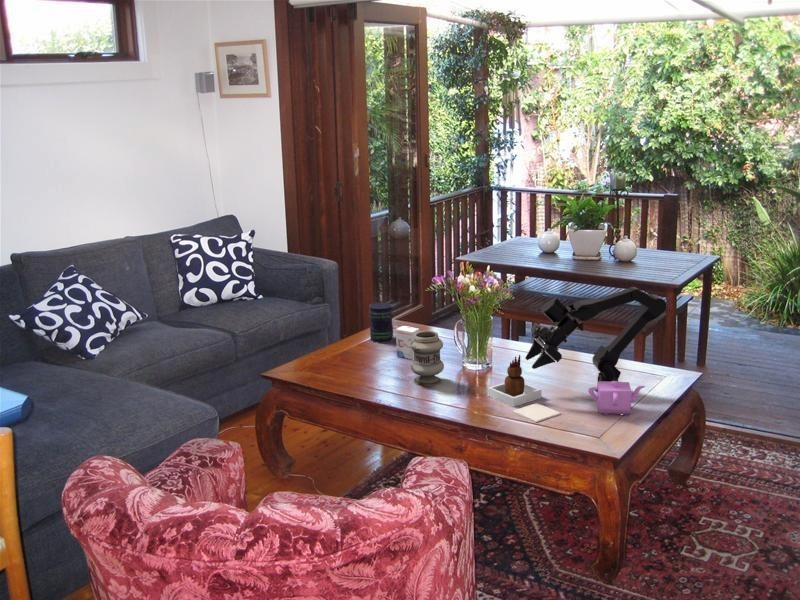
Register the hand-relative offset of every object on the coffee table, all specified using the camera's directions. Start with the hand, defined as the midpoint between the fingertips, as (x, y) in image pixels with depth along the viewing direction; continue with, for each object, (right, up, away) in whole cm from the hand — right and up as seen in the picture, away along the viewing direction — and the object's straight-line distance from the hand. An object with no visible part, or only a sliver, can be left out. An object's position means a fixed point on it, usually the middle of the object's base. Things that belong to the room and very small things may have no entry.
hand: (529, 363), depth 293 cm
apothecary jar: (-34, -8, +20) cm, 40 cm away
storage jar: (-52, +5, +71) cm, 88 cm away
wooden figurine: (-5, -12, +3) cm, 13 cm away
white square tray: (-5, -12, +3) cm, 13 cm away
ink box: (-41, -1, +47) cm, 63 cm away
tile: (0, -15, -12) cm, 19 cm away
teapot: (+26, -15, -12) cm, 33 cm away
